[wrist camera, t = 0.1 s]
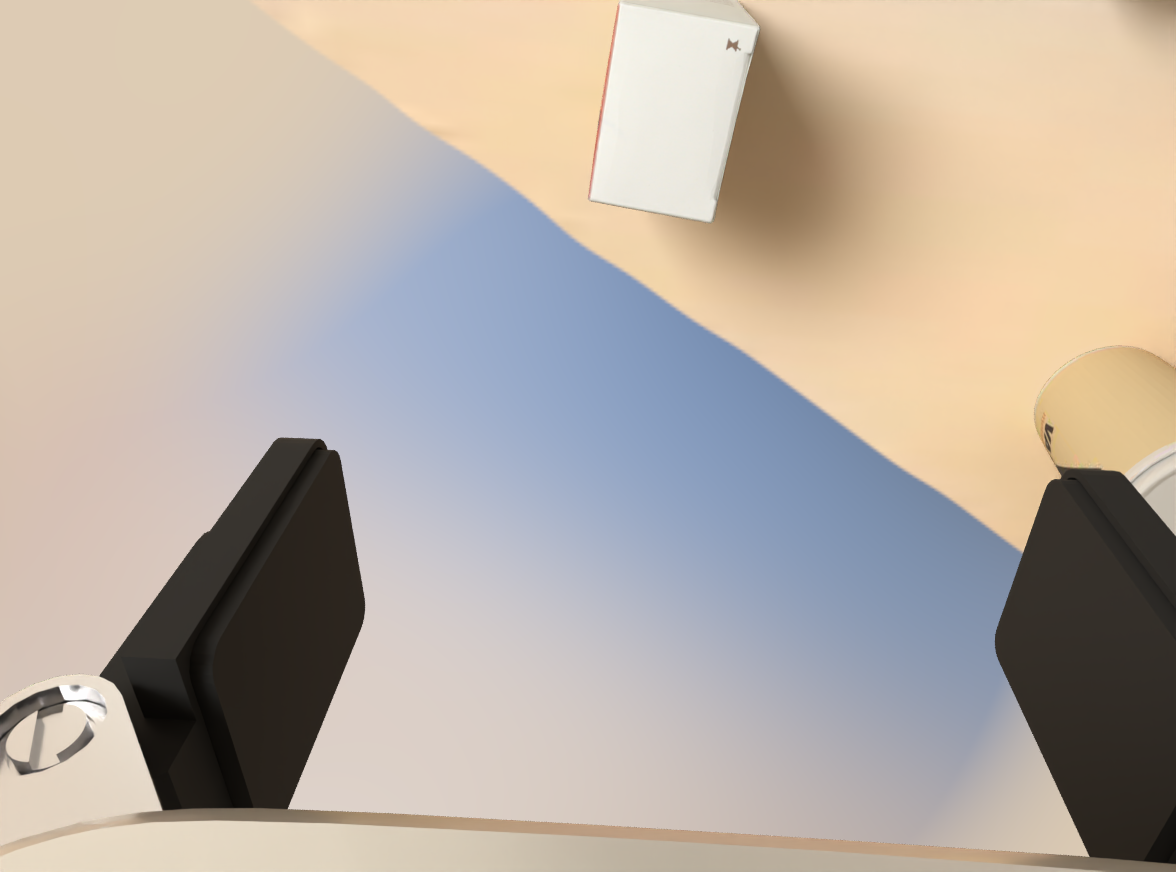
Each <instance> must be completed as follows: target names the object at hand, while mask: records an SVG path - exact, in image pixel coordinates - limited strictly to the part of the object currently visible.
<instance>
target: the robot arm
mask: <svg viewBox="0 0 1176 872" xmlns="http://www.w3.org/2000/svg"><path fill="white" fill-rule="evenodd" d="M364 614H365V598H364V592H363V587H362V581H361V575H360V570H359V564H358V558H357V552H356V546H355V540H354V535H353V529H352V523H351V517H350V511H349V506H348V500H347V494H346V488H345V483H344V477H343V471H342V465H341V460H340V456H339V454H338V452H337V451H335V450H327V446H326V445H325V443H324V441H322V440H321V439H304V438H278V439H277V440H275V441H274V442H273V444H272V445H271V447H270V448H269V449H268V451H267V452H266V454H265V455H264V456H263V458H262V459H261V461H260V462H259V464H258V465H257V466H256V468H255V469H254V470H253V472H252V473H251V475H250V476H249V478H248V479H247V480H246V482H245V483H244V484H243V486H242V487H241V489H240V490H239V491H238V493H237V494H236V496H235V497H234V499H233V500H232V501H231V503H230V504H229V506H228V507H227V508H226V510H225V511H224V512H223V514H222V515H221V517H220V518H219V519H218V521H217V522H216V524H215V525H214V526H213V528H212V529H211V530H210V531H209V532H207V533H204V535H203V536H201V538H200V539H199V540H198V541H197V542H196V543H195V545H194V546H193V547H192V549H191V550H190V552H189V553H188V554H187V556H186V557H185V558H184V560H183V561H182V563H181V564H180V565H179V567H178V568H177V569H176V571H175V572H174V574H173V575H172V576H171V578H170V579H169V580H168V582H167V583H166V585H165V586H164V587H163V589H162V590H161V592H160V593H159V594H158V596H157V597H156V599H155V600H154V601H153V603H152V604H151V605H150V607H149V608H148V609H147V611H146V612H145V614H144V615H143V616H142V618H141V619H140V620H139V622H138V623H137V625H136V626H135V627H134V629H133V630H132V632H131V633H130V634H129V636H128V637H127V639H126V640H125V641H124V643H123V644H122V645H121V647H120V648H119V649H118V651H117V652H116V654H115V655H114V656H113V658H112V659H111V661H110V662H109V663H108V665H107V666H106V667H105V669H104V670H103V672H102V673H101V674H100V676H92V675H85V674H75V675H66V676H58V677H55V678H51V679H48V680H45V681H41V682H38V683H35V684H33V685H31V686H29V687H27V688H25V689H23V690H21V691H19V692H17V693H15V694H13V695H11V696H9V697H8V698H7V699H5V700H4V701H3V702H1V703H0V872H1176V536H1175V535H1174V533H1173V532H1172V531H1171V530H1170V529H1169V527H1168V526H1167V525H1166V524H1165V523H1164V522H1163V520H1162V519H1161V518H1160V517H1159V516H1158V514H1157V513H1156V512H1155V511H1154V510H1153V508H1152V507H1151V506H1150V505H1149V504H1148V503H1147V501H1146V500H1145V499H1144V498H1143V497H1142V495H1141V494H1140V493H1139V492H1138V491H1137V489H1136V488H1135V487H1134V486H1133V485H1132V483H1131V482H1130V481H1129V480H1128V479H1127V478H1126V476H1125V475H1123V474H1122V473H1121V472H1119V471H1113V470H1088V469H1070V470H1068V471H1066V472H1065V473H1064V474H1063V475H1062V477H1061V479H1054V480H1052V481H1051V482H1050V483H1049V484H1048V485H1047V487H1046V489H1045V492H1044V495H1043V498H1042V501H1041V504H1040V507H1039V509H1038V512H1037V515H1036V518H1035V521H1034V524H1033V527H1032V529H1031V532H1030V535H1029V538H1028V541H1027V544H1026V547H1025V549H1024V552H1023V555H1022V558H1021V561H1020V564H1019V567H1018V570H1017V573H1016V576H1015V578H1014V581H1013V584H1012V587H1011V590H1010V592H1009V595H1008V598H1007V601H1006V604H1005V607H1004V610H1003V613H1002V615H1001V618H1000V621H999V624H998V627H997V630H996V634H995V649H996V654H997V657H998V660H999V662H1000V665H1001V667H1002V669H1003V671H1004V673H1005V675H1006V677H1007V680H1008V682H1009V684H1010V686H1011V688H1012V690H1013V692H1014V694H1015V697H1016V699H1017V701H1018V703H1019V705H1020V708H1021V710H1022V712H1023V714H1024V716H1025V718H1026V720H1027V723H1028V725H1029V727H1030V729H1031V731H1032V734H1033V736H1034V738H1035V740H1036V742H1037V744H1038V746H1039V748H1040V751H1041V753H1042V755H1043V757H1044V759H1045V762H1046V764H1047V766H1048V768H1049V770H1050V772H1051V774H1052V777H1053V779H1054V781H1055V783H1056V785H1057V787H1058V790H1059V792H1060V794H1061V796H1062V798H1063V800H1064V802H1065V804H1066V807H1067V809H1068V811H1069V813H1070V815H1071V818H1072V819H1073V822H1074V824H1075V826H1076V828H1077V830H1078V832H1079V835H1080V837H1081V839H1082V841H1083V843H1084V846H1085V848H1086V850H1087V852H1088V854H1089V856H1090V857H1082V856H1069V855H1068V856H1067V855H1054V854H1039V853H1024V852H1010V851H995V850H979V849H965V848H950V847H934V846H921V845H905V844H891V843H876V842H862V841H846V840H830V839H829V840H828V839H814V838H797V837H781V836H766V835H751V834H735V833H719V832H702V831H686V830H668V829H652V828H637V827H621V826H604V825H587V824H569V823H552V822H533V821H516V820H498V819H481V818H462V817H446V816H445V817H444V816H427V815H409V814H393V813H392V814H391V813H367V812H343V811H318V810H316V811H315V810H292V809H291V810H290V809H288V807H289V804H290V802H291V799H292V797H293V794H294V792H295V789H296V787H297V784H298V782H299V780H300V777H301V775H302V772H303V770H304V767H305V765H306V762H307V760H308V757H309V755H310V753H311V750H312V748H313V745H314V742H315V740H316V738H317V735H318V733H319V730H320V728H321V726H322V723H323V721H324V718H325V716H326V713H327V711H328V708H329V706H330V703H331V701H332V699H333V696H334V694H335V691H336V689H337V686H338V684H339V681H340V679H341V676H342V674H343V671H344V669H345V666H346V664H347V662H348V659H349V657H350V654H351V652H352V649H353V647H354V645H355V642H356V639H357V637H358V635H359V632H360V630H361V627H362V624H363V620H364Z"/></svg>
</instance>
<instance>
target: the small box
mask: <svg viewBox="0 0 1176 872" xmlns="http://www.w3.org/2000/svg"><path fill="white" fill-rule="evenodd" d="M759 33H760V26H759V25H758V24H757V22H756V21H755V20H754V19H753V18H752V17H751V16H750V15H749V13H748V12H747V11H746V10H745V9H744V7H743V6H742V5H741V4H740V3H739V2H738V0H619V3H618V7H617V13H616V19H615V25H614V30H613V36H612V42H611V48H610V54H609V60H608V66H607V72H606V78H605V84H604V90H603V96H602V102H601V109H600V116H599V122H598V130H597V137H596V144H595V151H594V158H593V166H592V173H591V181H590V189H589V195H588V200H589V201H592V202H597V203H602V204H608V205H613V206H618V207H623V208H629V209H634V210H640V211H645V212H650V213H656V214H661V215H667V216H672V217H678V218H683V219H689V220H694V221H700V222H705V223H712V222H714V219H715V215H716V208H717V203H718V198H719V192H720V188H721V183H722V179H723V174H724V170H725V166H726V161H727V157H728V153H729V149H730V145H731V140H732V136H733V132H734V128H735V123H736V119H737V115H738V111H739V107H740V103H741V99H742V95H743V90H744V86H745V82H746V78H747V74H748V71H749V67H750V64H751V60H752V56H753V53H754V49H755V46H756V42H757V39H758V36H759Z"/></svg>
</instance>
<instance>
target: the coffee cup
mask: <svg viewBox="0 0 1176 872" xmlns="http://www.w3.org/2000/svg"><path fill="white" fill-rule="evenodd" d="M1034 420H1035V426H1036V429H1037V432H1038V434H1039V436H1040V439H1041V440H1042V442H1043V444H1044V446H1045V448H1046V450H1047V451H1048V453H1049V455H1050V457H1051V458H1052V460H1053V462H1054V464H1055V465H1056V467H1057V469H1058V470H1059V472H1060V474H1061V476H1062V475H1063V474H1064V473H1065V472H1066V471H1068V470H1070V469H1088V470H1113V471H1119V472H1121V473H1122V474H1123V475H1125V476H1126V478H1127V479H1128V480H1129V481H1130V482H1131V483H1132V485H1133V486H1134V487H1135V488H1136V489H1137V491H1138V492H1139V493H1140V494H1141V495H1142V497H1143V498H1144V499H1145V500H1146V501H1147V503H1148V504H1149V505H1150V506H1151V507H1152V508H1153V510H1154V511H1155V512H1156V513H1157V514H1158V516H1159V517H1160V518H1161V519H1162V520H1163V522H1164V523H1165V524H1166V525H1167V526H1168V527H1169V529H1170V530H1171V531H1172V532H1173V533H1174V535H1175V536H1176V369H1175V368H1174V367H1172V366H1171V365H1169V364H1168V363H1166V362H1165V361H1163V360H1162V359H1160V358H1159V357H1157V356H1155V355H1154V354H1152V353H1150V352H1148V351H1145V350H1143V349H1139V348H1135V347H1129V346H1110V347H1104V348H1099V349H1096V350H1093V351H1089V352H1086V353H1084V354H1082V355H1080V356H1078V357H1076V358H1074V359H1073V360H1071V361H1069V362H1068V363H1066V364H1065V365H1064V366H1062V367H1061V368H1060V369H1059V370H1058V371H1056V372H1055V373H1054V374H1053V375H1052V377H1051V378H1050V379H1049V380H1048V381H1047V382H1046V384H1045V385H1044V387H1043V388H1042V390H1041V392H1040V394H1039V396H1038V398H1037V402H1036V405H1035V412H1034Z"/></svg>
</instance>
